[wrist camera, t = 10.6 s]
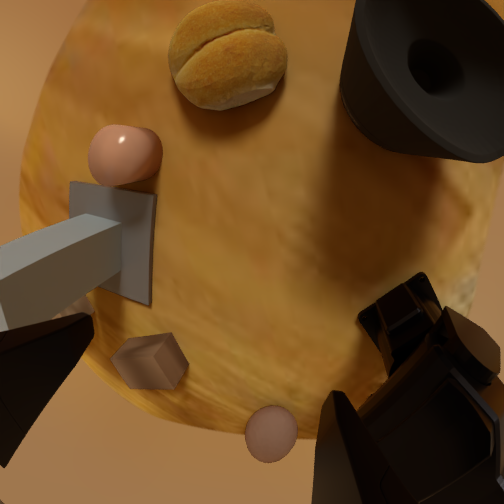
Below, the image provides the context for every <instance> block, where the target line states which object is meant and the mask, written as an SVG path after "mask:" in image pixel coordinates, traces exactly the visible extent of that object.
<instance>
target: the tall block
mask: <svg viewBox="0 0 504 504" xmlns="http://www.w3.org/2000/svg"><path fill="white" fill-rule="evenodd" d="M121 230H122V223H121V222H117V221H113V220H109V219H105V218H102V217H98V216H94V215H90V214H83V215H80V216H77V217H74V218H71V219H68V220H65V221H62V222H60V223H57V224H54V225H51V226H49V227H46V228H43V229H41V230H38V231H35V232H33V233H30V234H28V235H25V236H23V237H20V238H18V239H16V240H13V241H11V242H9V243H6V244H4V245H2V246H0V332H2V331H6V330H10V329H15V328H19V327H23V326H27V325H31V324H35V323H40V322H44V321H48V320H51V319H52V318H53V317H55V316H56V315H57V314H59V313H60V312H61V311H63V310H64V309H66V308H67V307H68V306H70V305H71V304H73V303H74V302H75V301H77V300H78V299H80V298H81V297H82V296H84V295H85V294H87V293H88V292H90V291H91V290H93V289H94V288H95V287H97V286H98V285H100V284H101V283H103V282H104V281H106V280H107V279H109V278H110V277H112V276H113V275H115V274H116V273H118V272H119V271H121Z"/></svg>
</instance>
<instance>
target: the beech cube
mask: <svg viewBox="0 0 504 504" xmlns="http://www.w3.org/2000/svg"><path fill="white" fill-rule="evenodd" d="M80 312H85V313H87V314H89V315H91V314H92V313H93V312H95V311H94V309H93V307H92V305H91V304H90V302H89V300H88V299H87V297H86V295H84V296H82V297H81V298H80V299H78V300H77V301H75V302H74V303H73V304H71V305H70V306H68V307H67V308H66V309H64V310H63V311H61V312H60V313H59V314H57V315H56V316H55V317H53V318H52V319H56V318H60V317H64V316H68V315H72V314H76V313H80ZM52 319H51V320H52Z"/></svg>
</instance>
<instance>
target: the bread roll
mask: <svg viewBox="0 0 504 504" xmlns="http://www.w3.org/2000/svg"><path fill="white" fill-rule="evenodd" d="M168 60H169V68H170V71H171V74H172V76H173V78H174V80H175V83H176V85H177V87H178V90H179V91H180V92H181V93H182V94H183V95H184V96H185V97H186V98H187V99H188V100H189V101H190V102H191V103H192V104H194V105H196V106H197V107H199V108H202V109H210V110H218V111H222V110H226V109H230V108H233V107H237V106H241V105H244V104H247V103H249V102H251V101H255V100H256V99H258V98H261V97H264V96H266V95H268V94H270V93H272V92H273V91H274V90H275V88H276V86H277V84H278V82H279V80H280V79H281V77H282V76H283V74H284V72H285V70H286V68H287V50H286V47H285V45H284V43H283V42H282V40H281V39H280V38H278V37H277V36H276V35H275V30H274V23H273V19H272V17H271V16H270V14H269V13H268V12H267V11H266V10H264V9H263V8H261V7H260V6H258V5H255V4H252V3H250V2H247V1H243V0H220V1H215V2H211V3H208V4H205V5H202V6H200V7H198V8H196V9H194V10H193V11H191V12H190V13H189V14H188V15H187V16H186V17H185V18H184V19H183V20H182V21H181V22H180V24H179V25H178V27H177V28H176V30H175V32H174V34H173V36H172V39H171V42H170V46H169V52H168Z"/></svg>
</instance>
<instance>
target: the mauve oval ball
mask: <svg viewBox="0 0 504 504" xmlns="http://www.w3.org/2000/svg"><path fill="white" fill-rule="evenodd" d="M297 433H298V427H297V422H296V420H295V418H294V416H293V415H292V414H291V413H290V412H289V411H288V410H286V409H285V408H283V407H279V406H268V407H264V408H261V409H260V410H258V411H257V412H255V413H254V414H253V415H252V417H251V418H250V419H249V421H248V423H247V426H246V431H245V440H246V444H247V448H248V450H249V451H250V453H251V455H252V456H253V457H254V458H256V459H257V460H259V461H261V462H264V463H272V462H276V461H279V460H280V459H282V458H283V457H285V456H286V455H287V454H288V453H289V452H290V450H291V449H292V448H293V446H294V444H295V442H296V439H297Z"/></svg>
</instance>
